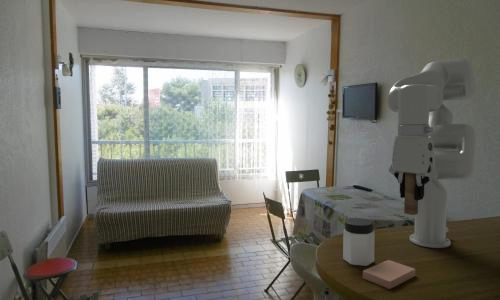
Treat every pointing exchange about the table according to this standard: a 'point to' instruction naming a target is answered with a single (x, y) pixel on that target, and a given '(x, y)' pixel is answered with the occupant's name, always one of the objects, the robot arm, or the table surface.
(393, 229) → the table surface
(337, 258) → the table surface
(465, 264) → the table surface
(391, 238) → the table surface
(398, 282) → the tile
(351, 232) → the jar
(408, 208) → the stick
